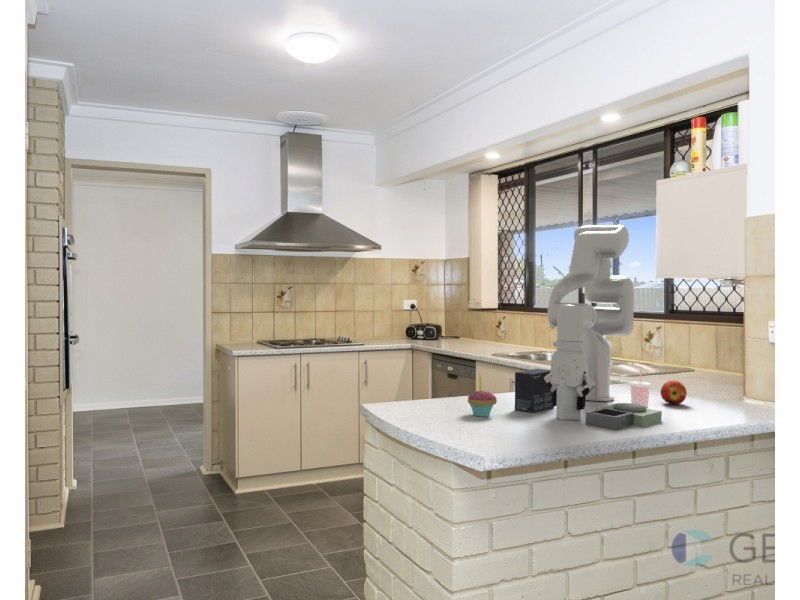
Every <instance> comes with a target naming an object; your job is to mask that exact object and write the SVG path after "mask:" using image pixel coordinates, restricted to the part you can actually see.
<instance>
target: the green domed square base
mask: <svg viewBox="0 0 800 600" xmlns="http://www.w3.org/2000/svg"><path fill="white" fill-rule="evenodd" d="M602 408H608V409H614V410H620V411H626V412H632V413H634V425H633V426H636V427H641V428H643V427H646V426H650V425H653V424H657V423H660V422H662V416H663V411H662V410H658V409H653V408H652V409H651V408H648V409H646V406H643V405H638V404H631V402H629V403H627V402H618V403H614V404H610V405H606V406H600V407H596V409H595V410H597V409H602Z"/></svg>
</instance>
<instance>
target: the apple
mask: <svg viewBox="0 0 800 600" xmlns="http://www.w3.org/2000/svg"><path fill="white" fill-rule="evenodd" d="M687 394H688V393H687V388H686V387H685V385H684V384H683V383H682V382H681V381H679V380H675V379H674V380H669V381H666V382H664V384H663V385H661V388H660V397H661V399H662V400H663V401H664V402H666V403H669V404H670V405H680V404H682V403H683V402H684V401H685V400H686V398H687Z"/></svg>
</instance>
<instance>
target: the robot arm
mask: <svg viewBox="0 0 800 600" xmlns="http://www.w3.org/2000/svg"><path fill="white" fill-rule="evenodd" d="M629 237H630V234H629V230H628V229H627V227H626V226H625V225H621V224H617V225H616V224H614V225H613V224H612V225H611V224H610V225H609V224H606V225H599V224H598V225H584V226H580V227H578V228H576V229H575V230H574V232H573V239H574V240H573V241H574V243H573V250H572V254H571V261H570V266H569V272H568V273H566V275H565V276H563V277H562V278H561V279H560V280H559V281H558V282H557V283H556V284H555V286H554V287H553V289H552V291H551V293H550V296H549V301H548V306H547V316H546V317H547V321H548V323H549V324H550V326H552V327H555V328H556V341H554V342H553V343H552V344H553V346H554V347H556V350H553V353H552V357H551V362H550V369H549V370H550V373H549V374H547V375H546V376H545V377H544V379H545V381H546V383H547V385H548V387H549V388H550V389H551V390H550V391H551V392H552V402H553V404H552V405H553V406H554V407H556V403H557V385H560V378H564V379H565V386H567V387H573V388H576V390H577V392H578V394H579V396H577V410H579V411H580V410H581V411H583V410H585V407H586V402H587V401H592V402H610V401H614V400H615V396H614V395H612V394H610V381H611V379H610V377H611V373H610V372H611V346H610V344H609V343H608V341H607V340H606V339H605V337H604V336H612V337H613V336H615V337H626V336H629V335H631V333H632V332H633V329H634V315H635V314H634V312H635V311H634V310H635V307H634V303H635V300H634V299H635V298H634V297H635V293H634V291H635V289H634V283H633V281H632V279H631V277H629V276H626V275H625V276H624V275H612V274H611V259H617V258H620V257H621V255H623V253H624V251H626V249H627V247H628V245H629V240H630V238H629ZM581 288H584V297H585V300H586V301H587V302H589V303H592V304H593V303H594V304H603V305H605V304H606V305H607V304H609V305H610V304H611V305H617V306H618V307H607V306H606V307H604V306H593V305H592V304H589V303H583V302H582V303H581V302H562V300H563V299H564V298H565V297H566V296H567V295H568V294H569V293H571V292H574V291H576V290H580V289H581Z"/></svg>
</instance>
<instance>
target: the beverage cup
mask: <svg viewBox="0 0 800 600" xmlns="http://www.w3.org/2000/svg"><path fill="white" fill-rule="evenodd" d="M642 369H643V368H642V366H639V381H635V380H634V381H629V385H630V398H631V399H630V404H638V405H643V406H646V409H649V398H650V397H649V396H650V389H651V388H650V387H651V385H652V384H651V382H647V381H642Z"/></svg>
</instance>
